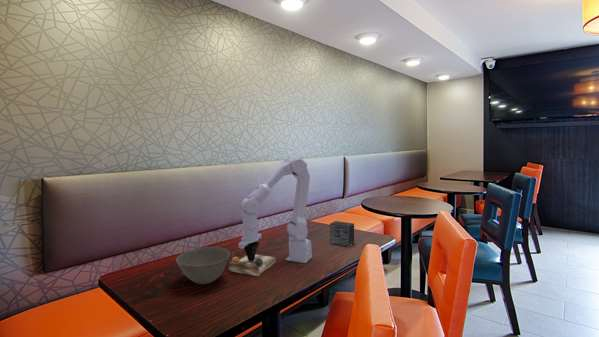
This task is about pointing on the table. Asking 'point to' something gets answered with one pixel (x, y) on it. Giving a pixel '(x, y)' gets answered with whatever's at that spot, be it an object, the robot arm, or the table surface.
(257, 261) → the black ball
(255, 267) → the bearing plate
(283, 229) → the table surface
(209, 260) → the bowl
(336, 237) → the small box
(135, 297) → the table surface
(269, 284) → the table surface
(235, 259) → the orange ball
